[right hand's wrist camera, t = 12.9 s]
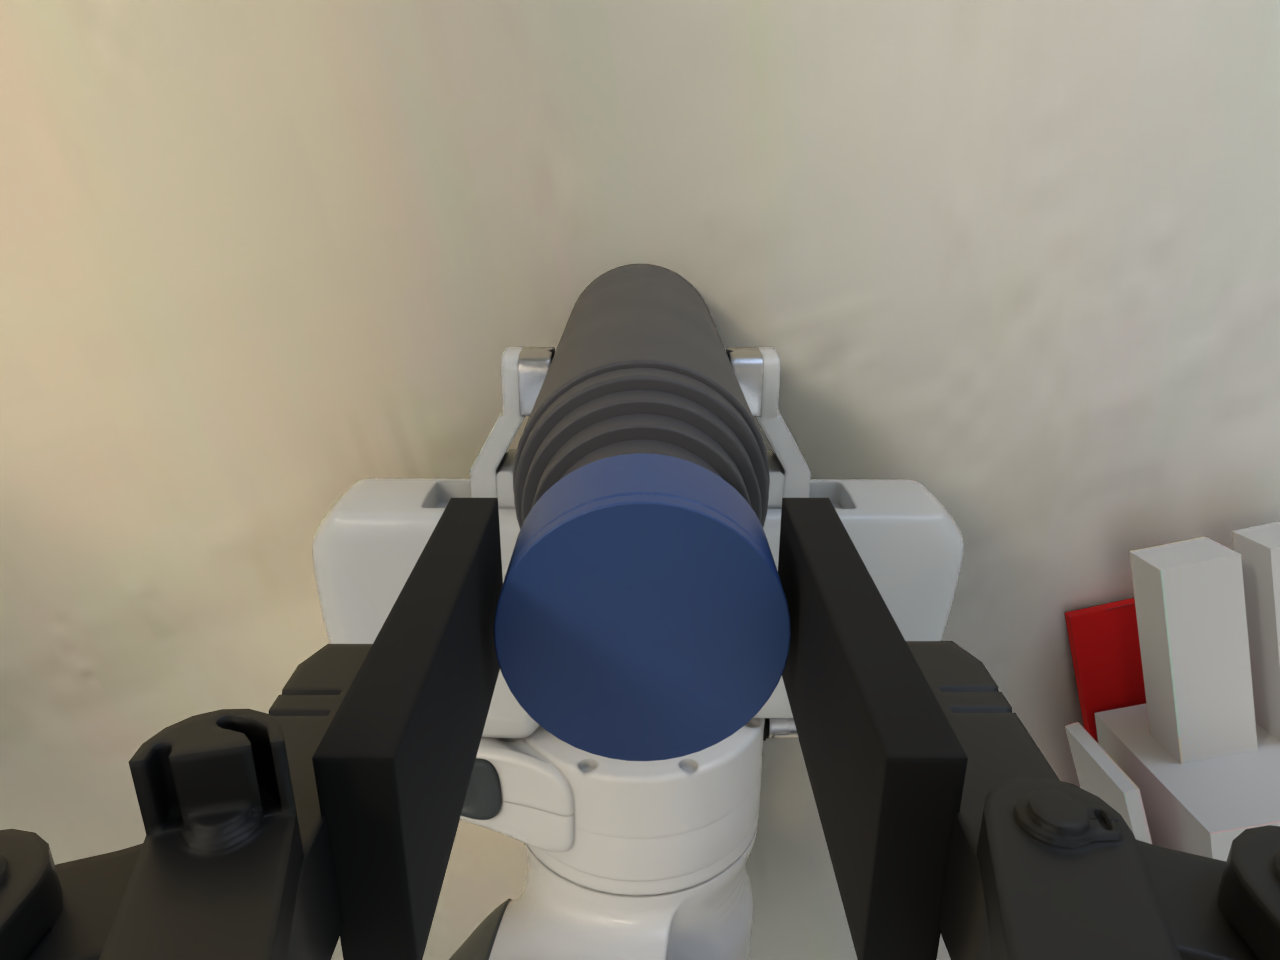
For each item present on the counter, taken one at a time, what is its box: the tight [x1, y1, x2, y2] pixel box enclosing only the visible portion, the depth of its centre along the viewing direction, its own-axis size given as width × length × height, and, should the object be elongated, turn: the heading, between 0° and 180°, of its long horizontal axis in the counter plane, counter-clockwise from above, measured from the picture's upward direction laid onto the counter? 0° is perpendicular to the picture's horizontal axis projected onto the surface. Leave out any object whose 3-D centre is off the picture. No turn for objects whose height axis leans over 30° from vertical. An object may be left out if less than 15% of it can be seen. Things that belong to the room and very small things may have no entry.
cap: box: [494, 453, 791, 761], centre depth 14 cm, size 4×4×2 cm
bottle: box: [513, 264, 770, 529], centre depth 23 cm, size 5×5×21 cm
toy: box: [1065, 521, 1280, 861], centre depth 35 cm, size 12×13×30 cm
